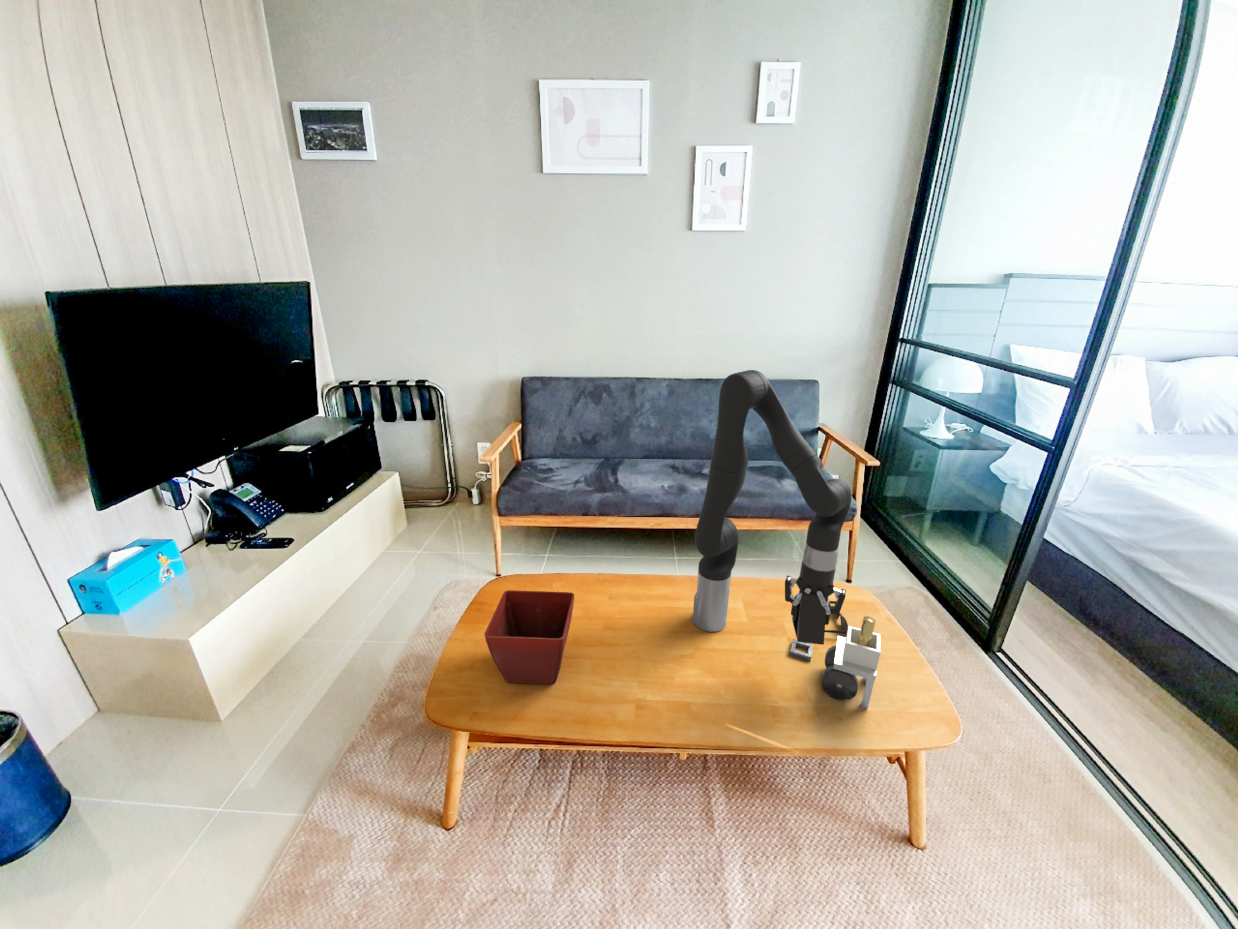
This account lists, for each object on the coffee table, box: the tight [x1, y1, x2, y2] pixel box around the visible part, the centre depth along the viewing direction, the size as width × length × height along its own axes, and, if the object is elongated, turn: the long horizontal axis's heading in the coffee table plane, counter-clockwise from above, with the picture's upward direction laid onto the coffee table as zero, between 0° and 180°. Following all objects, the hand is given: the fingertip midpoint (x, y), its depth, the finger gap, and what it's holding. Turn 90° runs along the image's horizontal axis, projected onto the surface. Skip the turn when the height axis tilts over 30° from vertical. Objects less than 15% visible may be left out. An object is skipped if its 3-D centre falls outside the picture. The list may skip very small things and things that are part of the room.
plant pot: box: [484, 589, 575, 685], centre depth 130 cm, size 19×19×17 cm
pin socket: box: [789, 639, 815, 662], centre depth 138 cm, size 5×5×2 cm
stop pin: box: [857, 615, 876, 647], centre depth 120 cm, size 3×3×10 cm
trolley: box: [820, 635, 877, 710], centre depth 125 cm, size 11×11×10 cm
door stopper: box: [791, 591, 829, 645], centre depth 123 cm, size 9×6×12 cm, turn 170°
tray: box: [843, 625, 882, 671], centre depth 122 cm, size 7×7×5 cm
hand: (809, 620), depth 125 cm, fingers closed on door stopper, 6 cm apart
